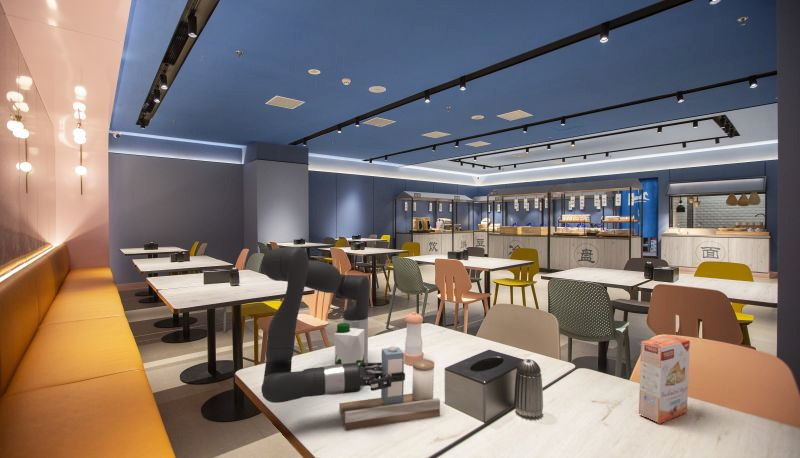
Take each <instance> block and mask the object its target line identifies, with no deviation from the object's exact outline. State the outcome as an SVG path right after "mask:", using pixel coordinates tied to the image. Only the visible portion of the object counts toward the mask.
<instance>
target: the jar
mask: <svg viewBox="0 0 800 458" xmlns="http://www.w3.org/2000/svg"><path fill="white" fill-rule="evenodd" d="M434 374H435V362H434V361H433V360H431V359H427V358H423V359H417V360H414V361H413V365H412V386H411V387H412V389H411V390H412V393H411V394H412V402H415V401H422V400H429V399H434V388H435V387H434V385H435V384H434V383H435V382H434V381H435V379H434V377H435V375H434Z"/></svg>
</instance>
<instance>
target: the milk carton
mask: <svg viewBox="0 0 800 458" xmlns="http://www.w3.org/2000/svg"><path fill="white" fill-rule="evenodd" d="M333 338H334V339H333V340H334V365H336V364H347V363H358V365H359V368H361V363H364V329H357V328H350V324H348V323H343V322H342V323H338V324H337V325H336V331H335V333H333Z"/></svg>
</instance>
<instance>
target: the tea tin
mask: <svg viewBox="0 0 800 458" xmlns="http://www.w3.org/2000/svg"><path fill="white" fill-rule="evenodd" d="M404 353H405V352H404V351H403V350H402V349H401V348H400V347H399V346H398V347H397V346H389V347H386V348H381V363H382V371H383V373H399V372H404V373H405V365H404V364H405V363H404ZM404 381H405V380H404ZM404 381H398V382H392V383H391V387H387V388H383V389H380V390H381V393H380V394H381V396H380V398H382V400H383V402H384V404H385V406H387V405H394V404H401V403H403V395H404V390H405V389H404V387H405V386H404V383H405V382H404Z"/></svg>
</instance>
